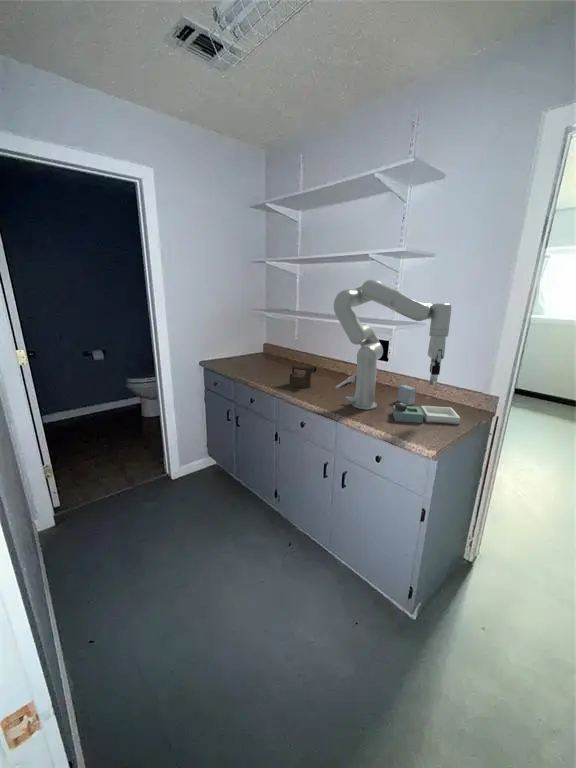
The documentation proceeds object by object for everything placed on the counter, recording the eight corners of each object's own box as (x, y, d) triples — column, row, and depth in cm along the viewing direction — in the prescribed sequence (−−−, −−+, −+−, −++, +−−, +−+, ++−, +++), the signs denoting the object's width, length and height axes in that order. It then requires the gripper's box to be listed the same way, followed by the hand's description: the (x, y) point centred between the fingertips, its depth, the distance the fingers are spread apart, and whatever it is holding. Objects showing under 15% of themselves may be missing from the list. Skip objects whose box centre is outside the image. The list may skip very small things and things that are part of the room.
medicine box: (414, 404, 173) (416, 388, 171) (408, 405, 171) (410, 389, 169) (403, 399, 180) (404, 384, 177) (396, 401, 178) (398, 385, 175)
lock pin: (430, 385, 149) (432, 363, 146) (428, 383, 152) (431, 361, 149) (437, 385, 148) (439, 363, 146) (435, 383, 151) (438, 362, 148)
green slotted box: (395, 420, 151) (396, 406, 149) (392, 413, 161) (393, 399, 159) (422, 422, 149) (424, 408, 147) (418, 414, 159) (419, 401, 157)
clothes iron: (310, 390, 195) (311, 368, 191) (288, 385, 203) (288, 364, 200) (317, 386, 201) (318, 365, 197) (295, 382, 210) (295, 361, 206)
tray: (426, 422, 151) (427, 415, 150) (420, 411, 163) (421, 405, 162) (459, 424, 148) (460, 417, 147) (450, 413, 161) (451, 407, 160)
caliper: (352, 382, 212) (353, 372, 211) (354, 382, 212) (355, 373, 210) (334, 389, 198) (334, 379, 196) (335, 389, 197) (336, 379, 196)
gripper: (426, 330, 152) (422, 369, 157) (434, 334, 137) (429, 377, 142) (443, 330, 151) (438, 369, 156) (453, 335, 135) (448, 378, 140)
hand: (434, 373), depth 149 cm, fingers closed on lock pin, 3 cm apart
